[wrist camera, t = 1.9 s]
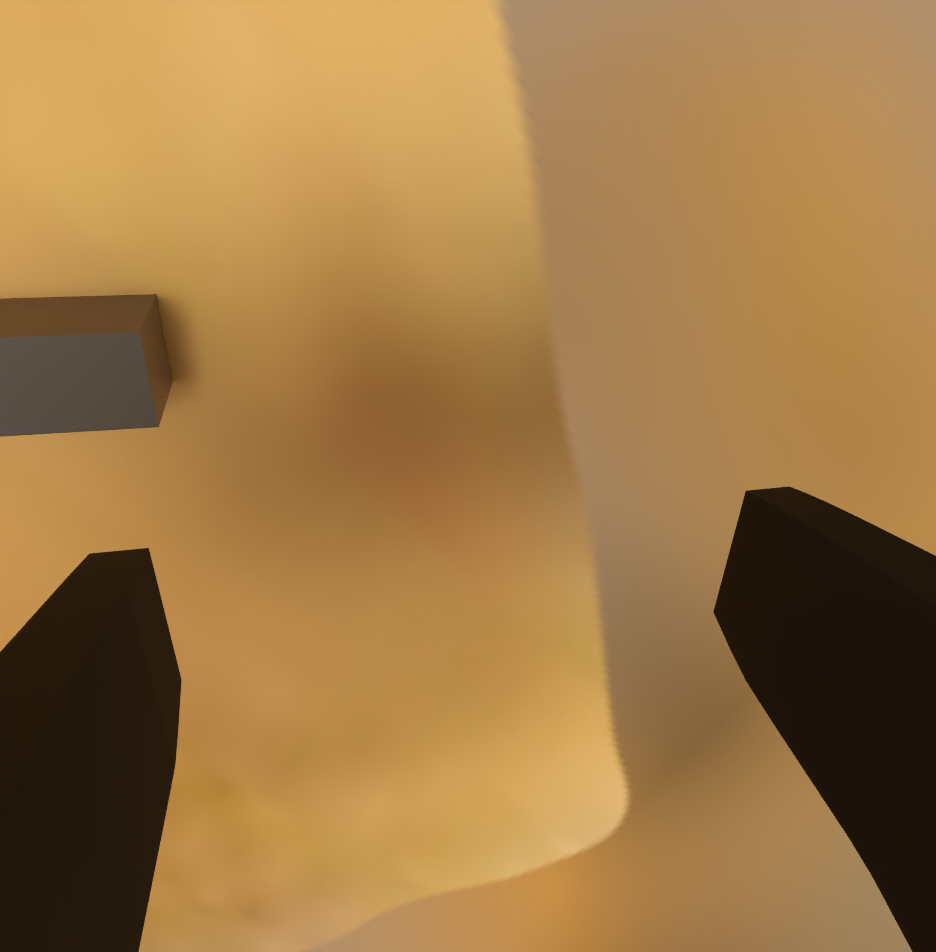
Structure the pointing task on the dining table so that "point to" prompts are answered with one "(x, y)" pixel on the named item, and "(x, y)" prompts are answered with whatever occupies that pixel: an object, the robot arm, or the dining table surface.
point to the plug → (81, 364)
